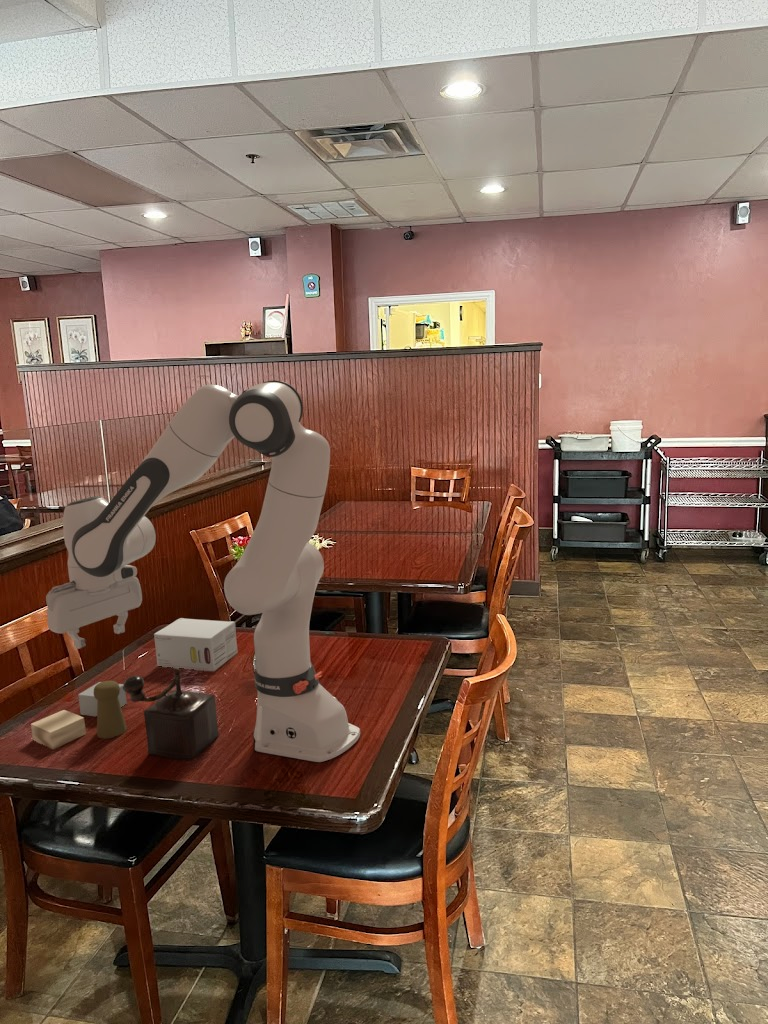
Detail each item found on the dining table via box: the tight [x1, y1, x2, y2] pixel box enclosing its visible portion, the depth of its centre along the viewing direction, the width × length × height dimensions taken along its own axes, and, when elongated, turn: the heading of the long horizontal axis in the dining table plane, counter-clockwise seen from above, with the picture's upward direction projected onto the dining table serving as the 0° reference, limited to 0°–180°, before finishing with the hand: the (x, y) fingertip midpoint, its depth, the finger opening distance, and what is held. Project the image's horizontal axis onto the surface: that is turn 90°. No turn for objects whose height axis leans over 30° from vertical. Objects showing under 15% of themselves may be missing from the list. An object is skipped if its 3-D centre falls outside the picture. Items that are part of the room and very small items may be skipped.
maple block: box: [30, 709, 87, 750], centre depth 151 cm, size 8×8×4 cm
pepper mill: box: [123, 668, 220, 761], centre depth 142 cm, size 16×11×18 cm
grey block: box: [77, 681, 128, 717], centre depth 164 cm, size 7×7×5 cm
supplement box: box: [153, 617, 239, 672], centre depth 190 cm, size 17×13×9 cm
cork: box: [94, 680, 128, 739], centre depth 152 cm, size 6×6×11 cm
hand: (100, 639), depth 149 cm, fingers open, 8 cm apart
